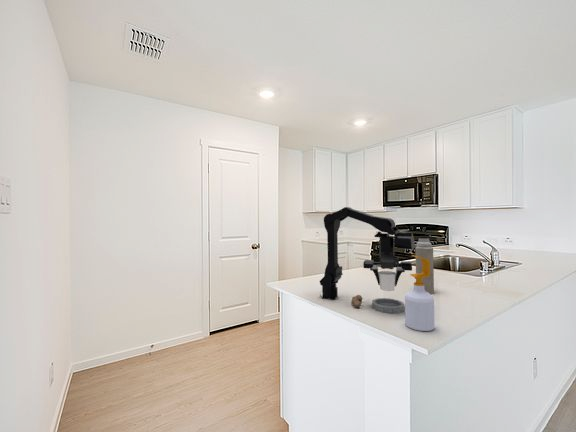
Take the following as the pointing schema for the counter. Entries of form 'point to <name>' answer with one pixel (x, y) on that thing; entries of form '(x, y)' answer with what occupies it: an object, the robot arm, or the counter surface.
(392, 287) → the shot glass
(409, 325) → the soap bottle
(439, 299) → the counter surface
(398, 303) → the tray
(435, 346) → the counter surface
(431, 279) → the thermos bottle
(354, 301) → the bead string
